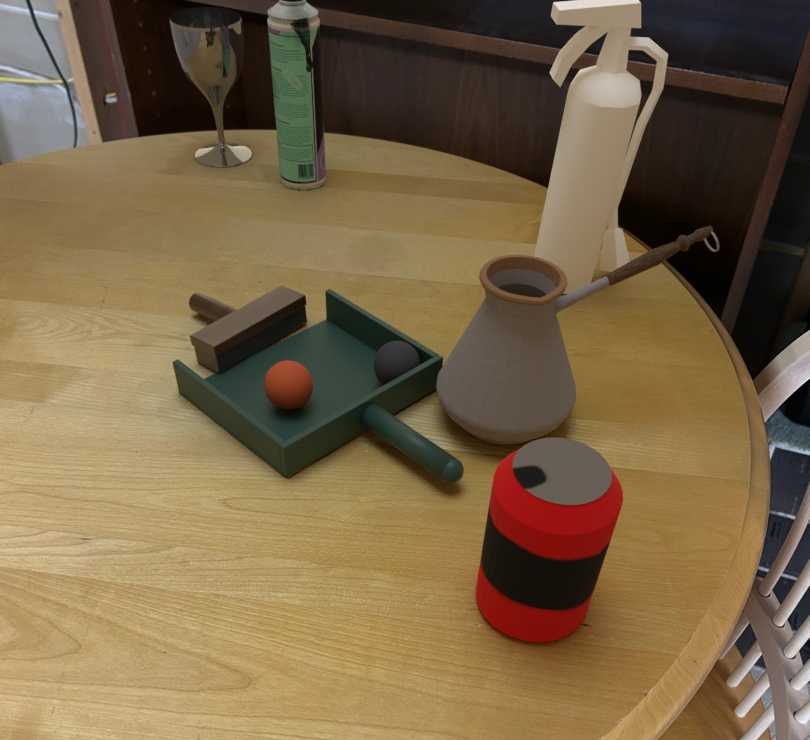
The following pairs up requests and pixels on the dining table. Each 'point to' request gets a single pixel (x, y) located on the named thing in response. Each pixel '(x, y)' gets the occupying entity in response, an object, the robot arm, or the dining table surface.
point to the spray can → (297, 93)
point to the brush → (244, 326)
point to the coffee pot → (525, 346)
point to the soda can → (546, 538)
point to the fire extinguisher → (595, 139)
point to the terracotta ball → (288, 385)
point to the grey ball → (394, 361)
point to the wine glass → (212, 69)
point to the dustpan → (324, 394)
